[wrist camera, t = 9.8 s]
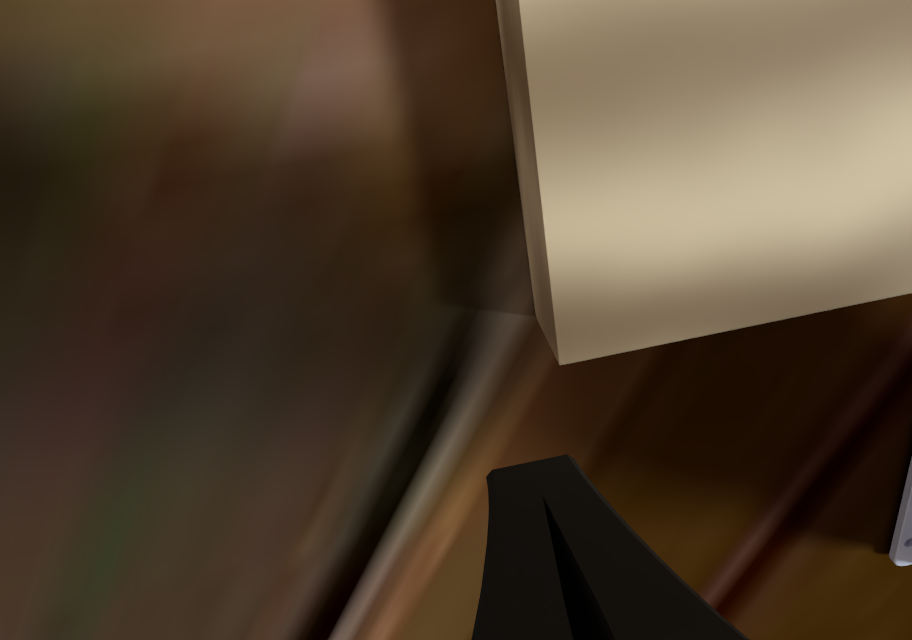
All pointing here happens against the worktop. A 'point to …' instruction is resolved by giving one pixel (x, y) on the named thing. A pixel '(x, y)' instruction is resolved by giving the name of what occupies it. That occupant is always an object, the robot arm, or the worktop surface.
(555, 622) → the robot arm
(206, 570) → the worktop surface
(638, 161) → the tan tray
